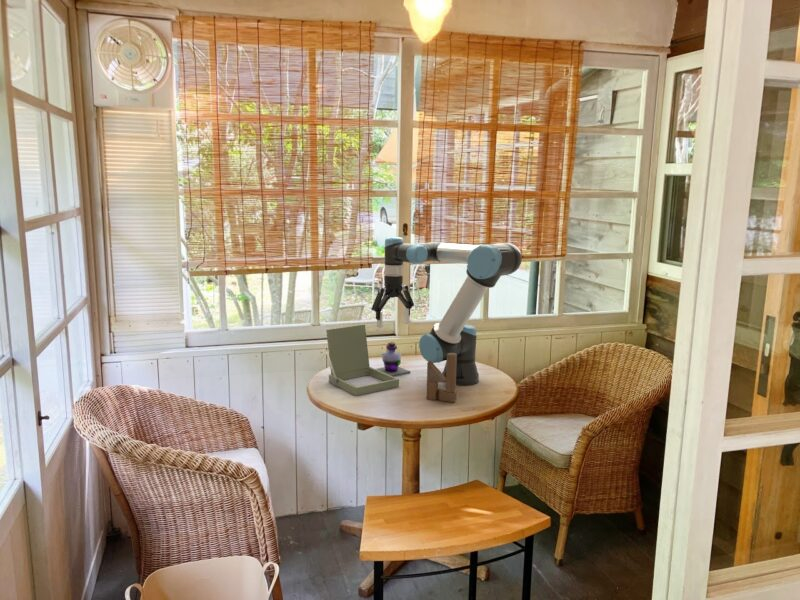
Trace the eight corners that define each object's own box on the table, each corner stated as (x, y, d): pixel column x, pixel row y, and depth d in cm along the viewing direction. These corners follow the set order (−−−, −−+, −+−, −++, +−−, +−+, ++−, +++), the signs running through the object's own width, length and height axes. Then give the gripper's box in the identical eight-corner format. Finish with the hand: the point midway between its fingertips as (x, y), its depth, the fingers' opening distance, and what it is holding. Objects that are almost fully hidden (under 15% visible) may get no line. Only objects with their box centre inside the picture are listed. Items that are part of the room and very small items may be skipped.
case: (398, 386, 246) (399, 335, 242) (354, 396, 234) (354, 342, 230) (365, 371, 265) (365, 323, 261) (322, 380, 252) (322, 330, 249)
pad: (410, 373, 264) (410, 371, 264) (389, 377, 257) (389, 375, 257) (394, 366, 272) (394, 365, 272) (373, 370, 266) (373, 369, 266)
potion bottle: (400, 373, 260) (401, 345, 258) (379, 372, 261) (380, 344, 258) (402, 367, 268) (402, 340, 266) (382, 366, 269) (382, 339, 267)
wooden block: (428, 396, 235) (430, 349, 232) (456, 399, 232) (458, 352, 229) (426, 399, 232) (427, 352, 229) (454, 403, 229) (455, 355, 225)
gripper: (411, 271, 268) (411, 320, 271) (363, 275, 253) (363, 327, 257) (423, 273, 262) (421, 323, 265) (373, 278, 247) (373, 330, 251)
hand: (392, 325), depth 261 cm, fingers open, 13 cm apart
